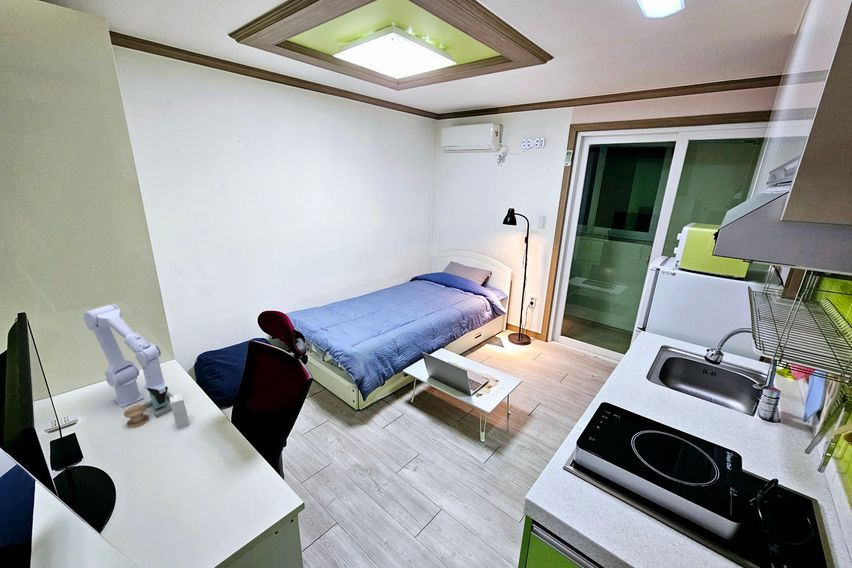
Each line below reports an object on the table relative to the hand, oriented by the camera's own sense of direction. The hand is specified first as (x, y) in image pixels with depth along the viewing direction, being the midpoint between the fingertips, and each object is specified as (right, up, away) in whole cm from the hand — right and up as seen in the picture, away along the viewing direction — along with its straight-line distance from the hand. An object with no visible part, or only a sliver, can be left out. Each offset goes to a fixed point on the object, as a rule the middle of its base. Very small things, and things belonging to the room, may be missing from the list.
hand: (159, 401), depth 147 cm
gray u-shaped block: (0, -3, +1) cm, 3 cm away
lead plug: (0, -2, 0) cm, 2 cm away
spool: (-3, -6, -8) cm, 10 cm away
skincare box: (+15, -6, -8) cm, 18 cm away
